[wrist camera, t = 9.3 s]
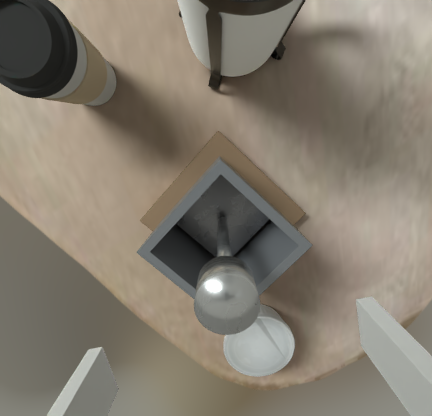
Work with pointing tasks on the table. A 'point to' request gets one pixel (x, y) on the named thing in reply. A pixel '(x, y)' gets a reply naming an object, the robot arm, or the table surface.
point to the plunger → (224, 257)
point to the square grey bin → (255, 247)
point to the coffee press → (237, 33)
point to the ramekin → (261, 345)
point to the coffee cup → (50, 56)
